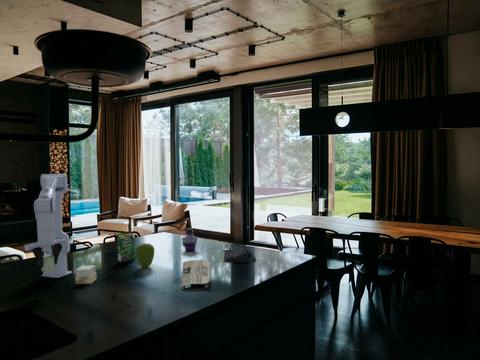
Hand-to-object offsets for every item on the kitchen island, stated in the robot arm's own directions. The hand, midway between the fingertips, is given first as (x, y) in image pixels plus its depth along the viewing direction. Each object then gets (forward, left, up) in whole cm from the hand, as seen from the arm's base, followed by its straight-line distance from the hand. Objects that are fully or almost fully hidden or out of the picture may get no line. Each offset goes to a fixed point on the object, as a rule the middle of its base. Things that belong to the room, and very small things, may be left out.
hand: (48, 265), depth 138 cm
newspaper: (+45, +34, -11) cm, 57 cm away
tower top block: (+5, +14, -7) cm, 16 cm away
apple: (+17, +37, -10) cm, 42 cm away
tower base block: (+5, +14, -10) cm, 18 cm away
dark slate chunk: (+51, +67, -11) cm, 85 cm away
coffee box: (0, +45, -10) cm, 46 cm away
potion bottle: (+21, +71, -10) cm, 75 cm away
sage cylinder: (0, 0, -1) cm, 1 cm away
